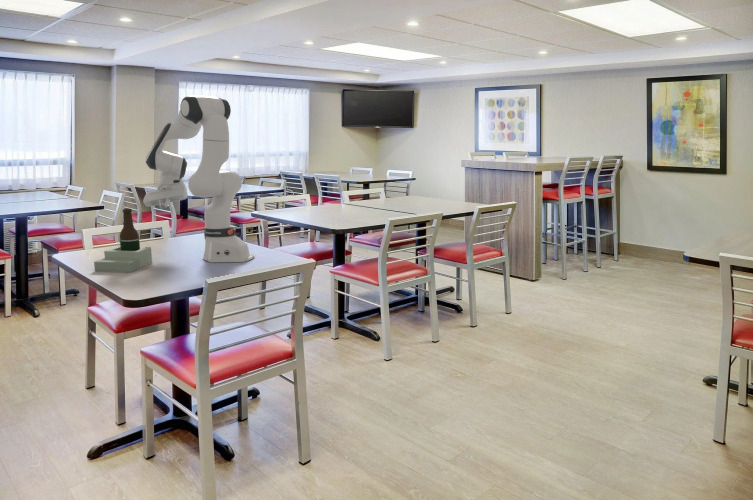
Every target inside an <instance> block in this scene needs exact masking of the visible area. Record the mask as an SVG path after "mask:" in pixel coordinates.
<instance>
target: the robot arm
mask: <svg viewBox="0 0 753 500" xmlns="http://www.w3.org/2000/svg"><path fill="white" fill-rule="evenodd" d="M231 111H232V110H231V105H230V103H229V101H228V100H227V99H225V98H222V97H215V96H207V95H188V96H184V97H183V98H182V99H181V101H180V110H179V111H178V114H177V117H176V118H175V120H173V121H172V122H167V123H166V124H165V126H164V128H162V130H161V132H160V133H159V134H158V135H159V136H158V137H157V139H156V141H155V142H154V144H153V146H152V147H151V148H150V149H149V151H148V152H147V154H146V156H145V163H146V166H147V167H148V168H149V169H151V170H154V171H159V172H161V173H160V176H159V181H158V184H157V188H156V190H150V191H148V192H146V193H145V195H144V197H143V200H142V202H143V204H144V206H145V207H146V208H149V207H150V208H151V207H155V206H159V208H160V209H161V210H162V209H166V208H168V206H169V205H170V204H171V203H173V202H180V201H184V200H186V199H188V190H189V192H190V193H191V195H192V196H194V197H198V198H205V199H206V198H212V199H211V202H210V204H209V205H207V206H206V208H205V209H204V213H203V214H204V228H203V231H204V232H203V235H204V244H205V245H204V252H203V256H202V257H203V258H202V259H203V260H204V261H207V262H209V263H244V262H248V261H251V260H253V259H254V258H255V255H254V253H250V250H249V246H248V244H247V243H246V242H245V241H244V240H242V239H241V238H240V237H238V236H237V235H236V230H237V229H236V228H235V227H234V228H233V227H232V226H231V209H232V204H233V201H234V198H235V196H236V195H237V193H238V192H239V191H241V187H242V184H243V183H242V179H241V176H240V174H239V173H237V172H235V171H231V170H221V168H222V167H223V165H224V163H226V162H227V161H228V160H229V157H230V132H229V122H228V120H229V118H230V116H231ZM201 128H202V129H203V131H202V152H201V153H202V155H201V156H202V157H201V160H200V163H199V165H198V168H197V169H196V171H195V172H194V173H193V174H192V175H191V176H190V177H189V179H188V183H187V184H188V185H187V186H186V183H185V182H184V180H182V179H184V177H185V175H186V172H187V171H186V170H187V166H188V161H187V160H186V158H185V157H183V156H181V155H179V154H176V153H172V152H168V151H165V150H163V149H164V147H165V146H166V144H167V142H168V141H170V140H178V139H179V140H189V139H192V138H195V137H196V136H197V135H199V132H200V130H201ZM187 187H188V188H187Z"/></svg>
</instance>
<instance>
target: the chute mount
mask: <svg viewBox="0 0 753 500" xmlns="http://www.w3.org/2000/svg"><path fill="white" fill-rule="evenodd" d="M103 253H104V257H103V258H101V259H97V260H95V261H93V263H94V264H93V266H94V272H105V273H106V272H107V273H108V272H109V273H111V272H112V273H134V272H136V271H138V270H140V269H141V268H144V267H146V266H149V265H151V264H152V263H153V257H152V247H151V246H145V247H142V248H140V250H137V251H121V247H120V245H119V246H115V247H113V248H109V249H107V250H105V251H104V252H103Z"/></svg>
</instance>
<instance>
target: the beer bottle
mask: <svg viewBox="0 0 753 500" xmlns="http://www.w3.org/2000/svg"><path fill="white" fill-rule="evenodd" d="M132 212H133V210H132V209H131V208H124V209H123V208H122V213H123V225H122V226H123V227H122V229H121V231H120V232H119V233H120V234H119V246H120V247H121V251H137V250H140V249H141V246H140V245H141V244H140V235H139V232H138V231H137V229H136V228H135V227H134V222H133V221H134V220H133V213H132Z"/></svg>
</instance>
